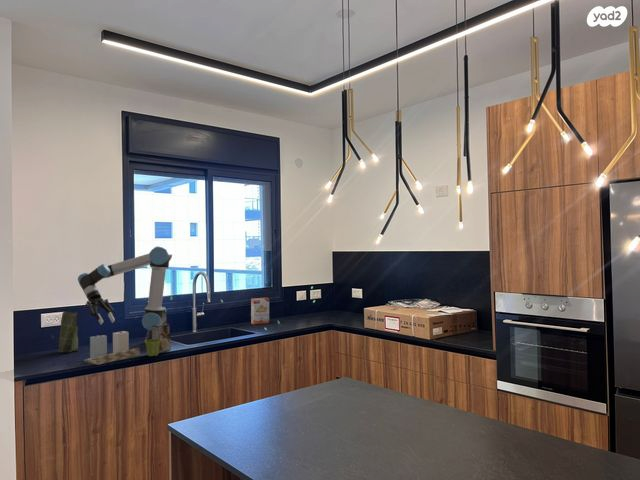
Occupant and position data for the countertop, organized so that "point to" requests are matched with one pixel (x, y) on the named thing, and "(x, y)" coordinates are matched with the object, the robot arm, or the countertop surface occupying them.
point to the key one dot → (120, 341)
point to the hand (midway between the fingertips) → (107, 322)
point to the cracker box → (259, 310)
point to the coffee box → (162, 336)
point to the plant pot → (152, 346)
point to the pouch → (68, 333)
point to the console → (114, 356)
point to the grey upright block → (98, 346)
